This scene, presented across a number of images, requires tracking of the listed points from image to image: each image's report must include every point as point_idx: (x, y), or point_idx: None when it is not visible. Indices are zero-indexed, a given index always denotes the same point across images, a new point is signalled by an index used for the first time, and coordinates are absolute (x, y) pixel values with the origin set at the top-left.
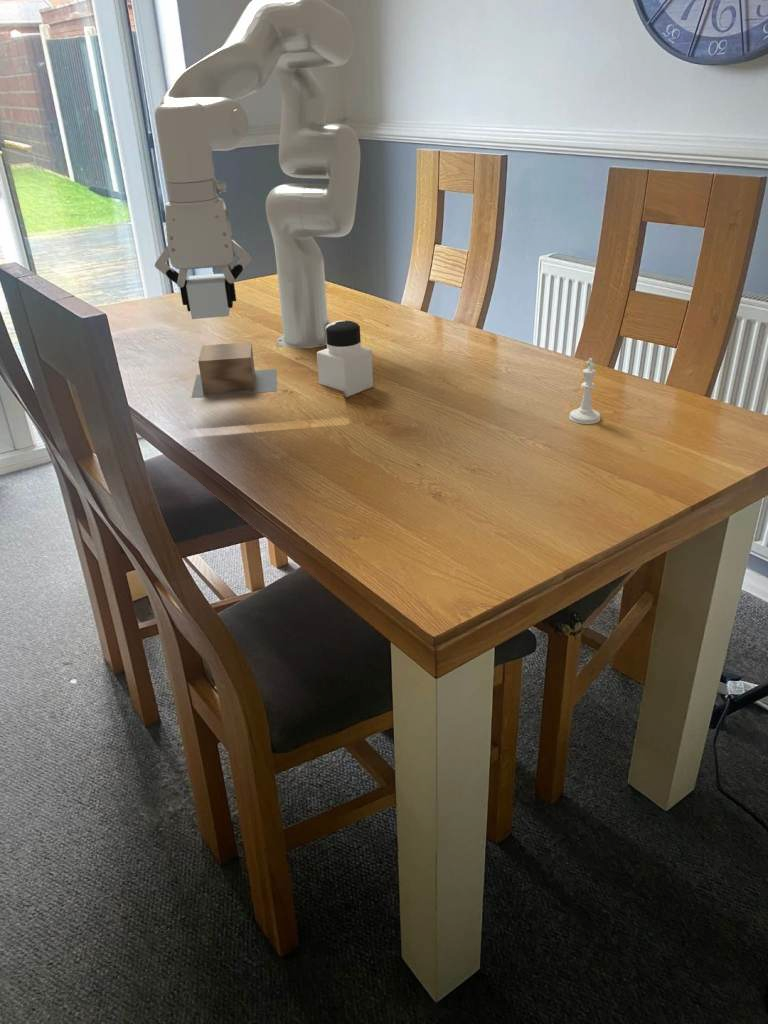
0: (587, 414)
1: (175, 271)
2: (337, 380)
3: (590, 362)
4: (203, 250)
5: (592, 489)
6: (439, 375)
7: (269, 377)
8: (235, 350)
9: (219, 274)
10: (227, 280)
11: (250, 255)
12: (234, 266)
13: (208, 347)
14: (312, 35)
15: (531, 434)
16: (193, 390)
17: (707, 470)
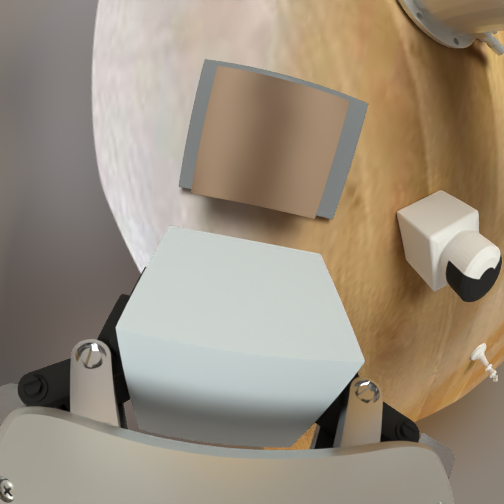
0: (476, 358)
1: (58, 404)
2: (414, 260)
3: (495, 380)
4: None
5: (404, 414)
6: (499, 235)
7: (343, 143)
8: (295, 147)
9: (324, 373)
10: (317, 428)
11: (450, 463)
12: (389, 438)
13: (231, 89)
14: None
15: (443, 367)
16: (185, 149)
17: (449, 400)
